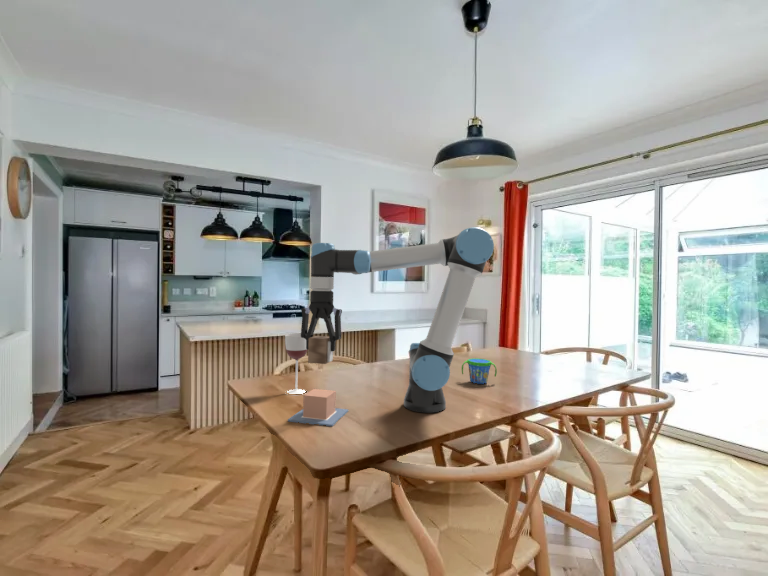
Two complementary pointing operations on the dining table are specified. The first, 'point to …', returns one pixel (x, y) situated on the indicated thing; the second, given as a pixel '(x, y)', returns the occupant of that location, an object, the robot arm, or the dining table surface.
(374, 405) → the dining table surface
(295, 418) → the board
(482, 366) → the snack cup
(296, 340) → the wineglass
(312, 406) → the terracotta base
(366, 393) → the dining table surface
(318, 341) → the walnut column
